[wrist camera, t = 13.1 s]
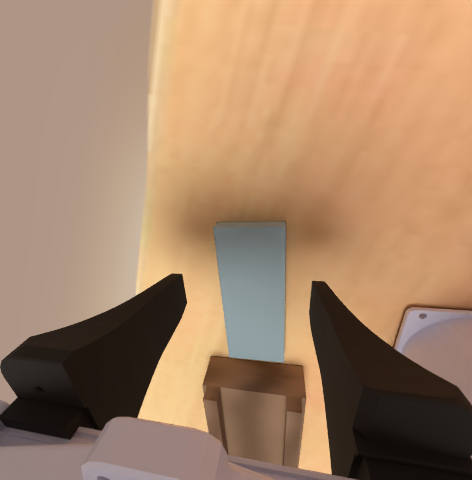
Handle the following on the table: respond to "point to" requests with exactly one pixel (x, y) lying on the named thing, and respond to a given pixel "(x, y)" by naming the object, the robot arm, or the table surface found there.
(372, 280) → the table surface
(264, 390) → the brown open channel bracket
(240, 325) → the cover plate
